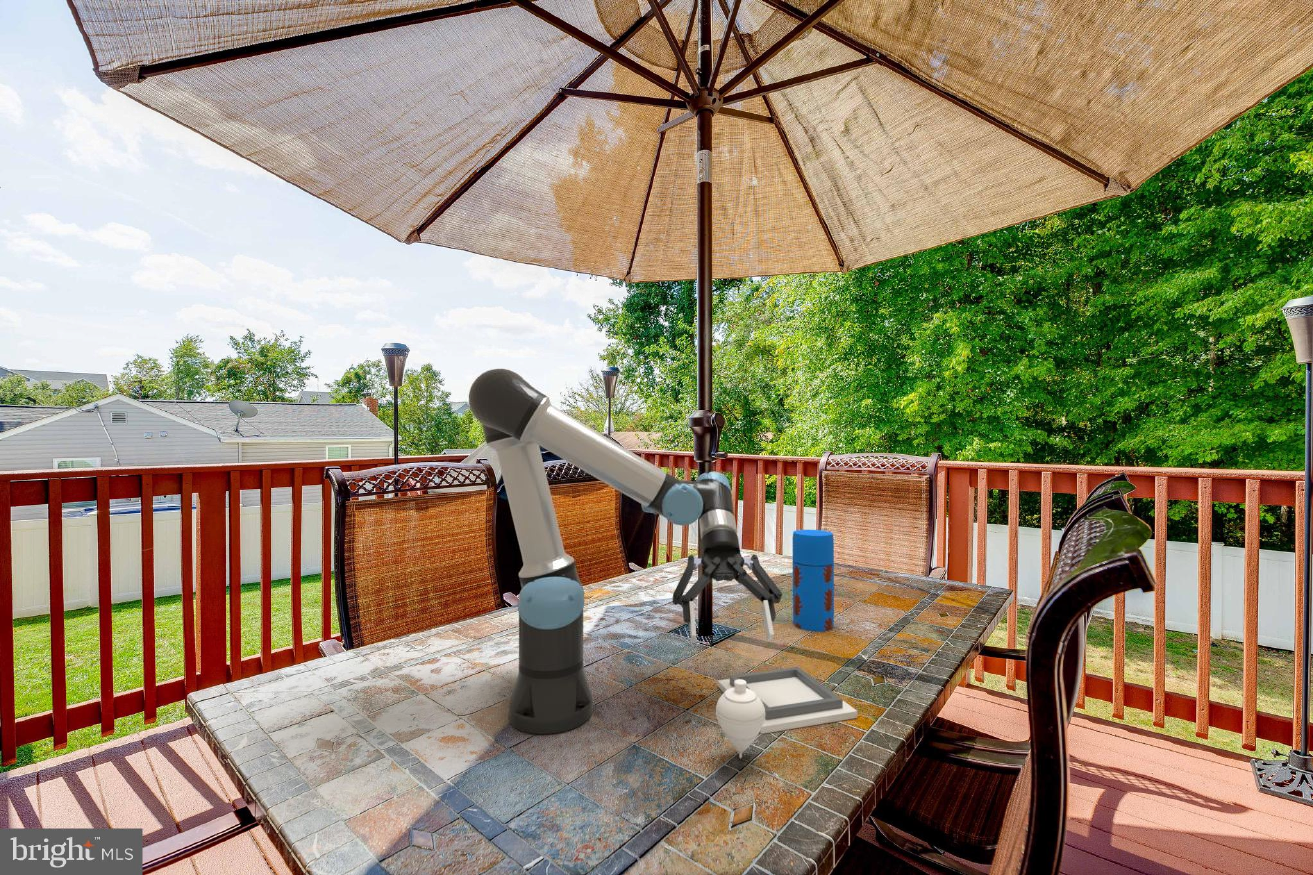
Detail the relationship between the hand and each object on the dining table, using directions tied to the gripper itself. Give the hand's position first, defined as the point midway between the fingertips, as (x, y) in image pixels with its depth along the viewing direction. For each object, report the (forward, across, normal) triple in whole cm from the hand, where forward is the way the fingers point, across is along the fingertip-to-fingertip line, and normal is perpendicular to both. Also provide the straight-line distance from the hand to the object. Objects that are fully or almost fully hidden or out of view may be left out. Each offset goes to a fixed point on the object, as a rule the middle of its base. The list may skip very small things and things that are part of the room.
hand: (732, 638), depth 97 cm
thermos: (-26, -31, -47) cm, 62 cm away
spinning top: (+18, 0, -3) cm, 18 cm away
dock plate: (+5, -11, -16) cm, 20 cm away
